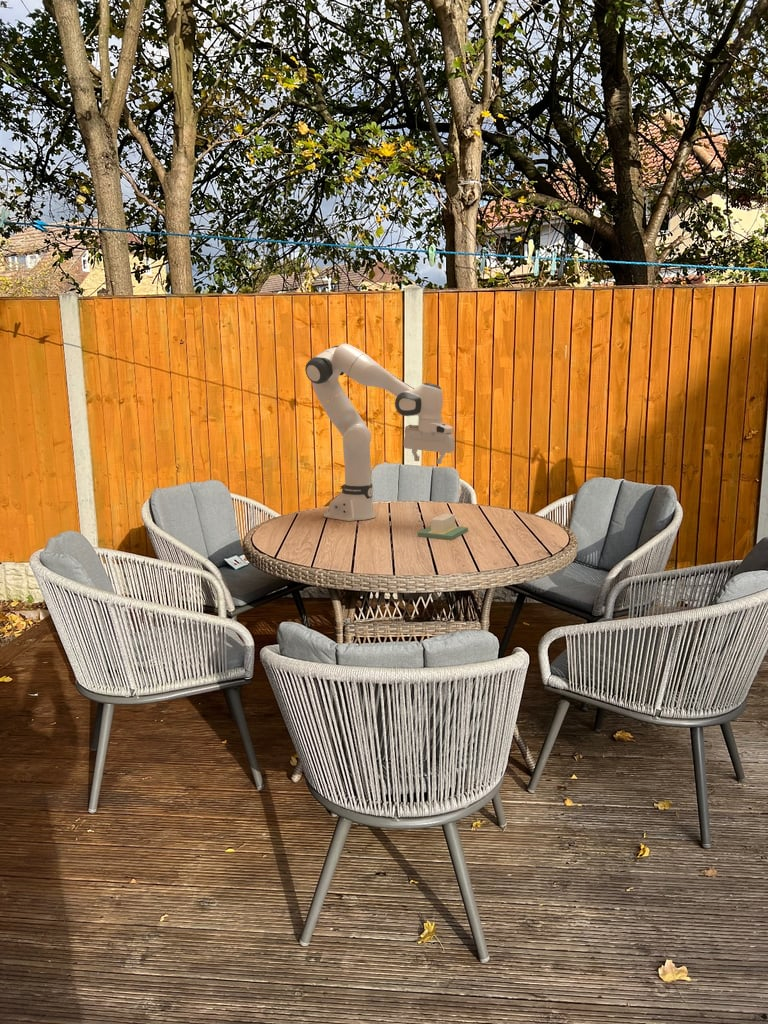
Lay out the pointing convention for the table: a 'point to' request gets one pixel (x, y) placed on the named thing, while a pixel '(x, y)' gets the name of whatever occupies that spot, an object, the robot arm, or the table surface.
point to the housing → (443, 523)
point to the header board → (447, 535)
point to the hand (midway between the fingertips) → (427, 462)
